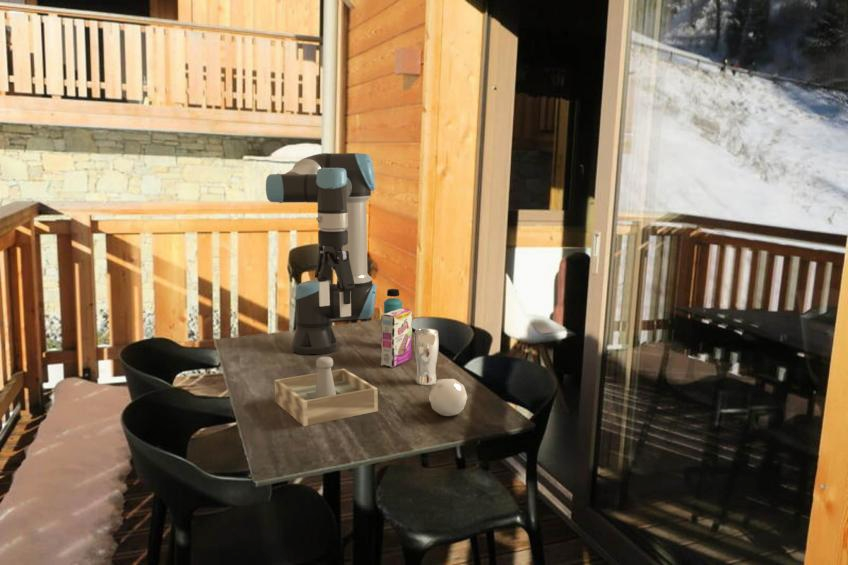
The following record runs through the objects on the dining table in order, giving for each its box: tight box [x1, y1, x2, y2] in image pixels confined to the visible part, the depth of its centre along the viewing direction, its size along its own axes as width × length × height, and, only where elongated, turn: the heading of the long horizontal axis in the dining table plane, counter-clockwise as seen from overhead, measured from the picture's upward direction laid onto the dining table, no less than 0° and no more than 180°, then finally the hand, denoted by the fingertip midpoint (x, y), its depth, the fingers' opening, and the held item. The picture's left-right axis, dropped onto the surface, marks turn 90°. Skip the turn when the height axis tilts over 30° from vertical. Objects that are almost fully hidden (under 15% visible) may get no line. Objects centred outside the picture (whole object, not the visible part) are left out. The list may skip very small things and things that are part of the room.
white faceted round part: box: [428, 378, 468, 417], centre depth 180 cm, size 9×10×15 cm
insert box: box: [274, 368, 379, 427], centre depth 183 cm, size 20×20×6 cm
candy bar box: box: [380, 308, 413, 369], centre depth 221 cm, size 11×5×16 cm, turn 150°
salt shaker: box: [314, 356, 336, 399], centre depth 183 cm, size 6×6×13 cm
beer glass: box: [413, 327, 440, 386], centre depth 203 cm, size 7×7×15 cm
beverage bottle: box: [383, 288, 403, 314], centre depth 239 cm, size 6×7×20 cm
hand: (334, 310), depth 184 cm, fingers open, 13 cm apart
